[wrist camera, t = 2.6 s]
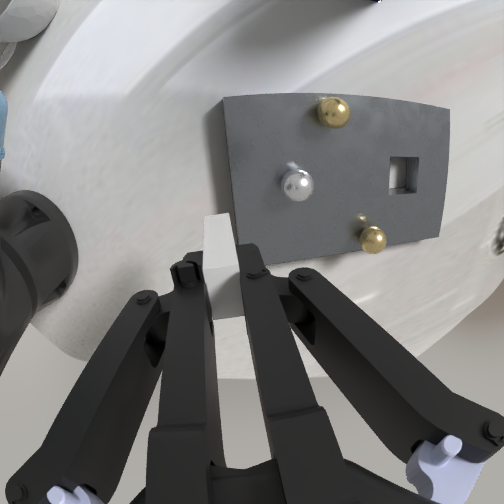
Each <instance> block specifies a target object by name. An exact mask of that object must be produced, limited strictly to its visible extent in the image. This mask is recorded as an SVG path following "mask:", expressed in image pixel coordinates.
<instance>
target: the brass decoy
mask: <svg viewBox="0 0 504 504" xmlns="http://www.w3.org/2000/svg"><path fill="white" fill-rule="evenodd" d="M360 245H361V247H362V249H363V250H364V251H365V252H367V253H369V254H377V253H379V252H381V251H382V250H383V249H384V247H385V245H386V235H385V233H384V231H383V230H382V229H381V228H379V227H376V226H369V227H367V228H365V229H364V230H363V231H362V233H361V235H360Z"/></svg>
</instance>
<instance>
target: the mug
mask: <svg viewBox="0 0 504 504" xmlns="http://www.w3.org/2000/svg"><path fill="white" fill-rule="evenodd" d="M58 7H59V0H0V42H8V44H7V46H6V48H5V50H4V52H3V54H2V55H1V57H0V69H2V68H3V67H4V66H5V65H6V64H7V62H8V61H9V59H10V58H11V56H12V54H13V53H14V51H15V48H16V45H17V42H19V41H24V40H27V39H30V38H32V37H34V36H36V35H38V34H39V33H40V32H41V31H42V30H44V29H45V28H46V27H47V25H48V24H49V23H50V22H51V20H52V19H53V17H54V15H55V14H56V11H57V9H58Z"/></svg>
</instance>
